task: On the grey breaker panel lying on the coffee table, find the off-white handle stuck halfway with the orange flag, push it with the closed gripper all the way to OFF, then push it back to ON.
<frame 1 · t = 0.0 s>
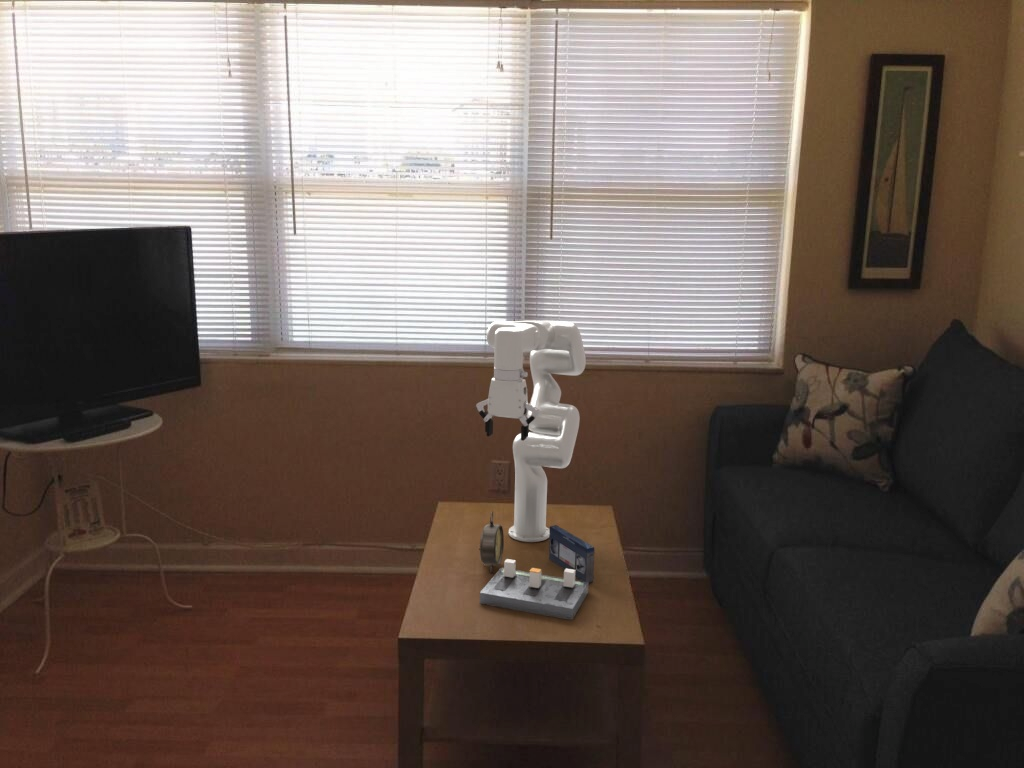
hand: (506, 437, 243), 37 cm above the table, tool pointing down, fingers open, 9 cm apart
tripped breaker: (535, 577, 231), point 6 cm above the table, slide at 3.5 cm
dial indicator gauge: (490, 567, 250), on the table
breaker 1: (509, 568, 237), point 5 cm above the table, slide at 0.0 cm
vhs cassette tape: (570, 571, 249), on the table
breaker panel: (534, 598, 232), on the table
breaker 2: (569, 577, 232), point 5 cm above the table, slide at 0.0 cm
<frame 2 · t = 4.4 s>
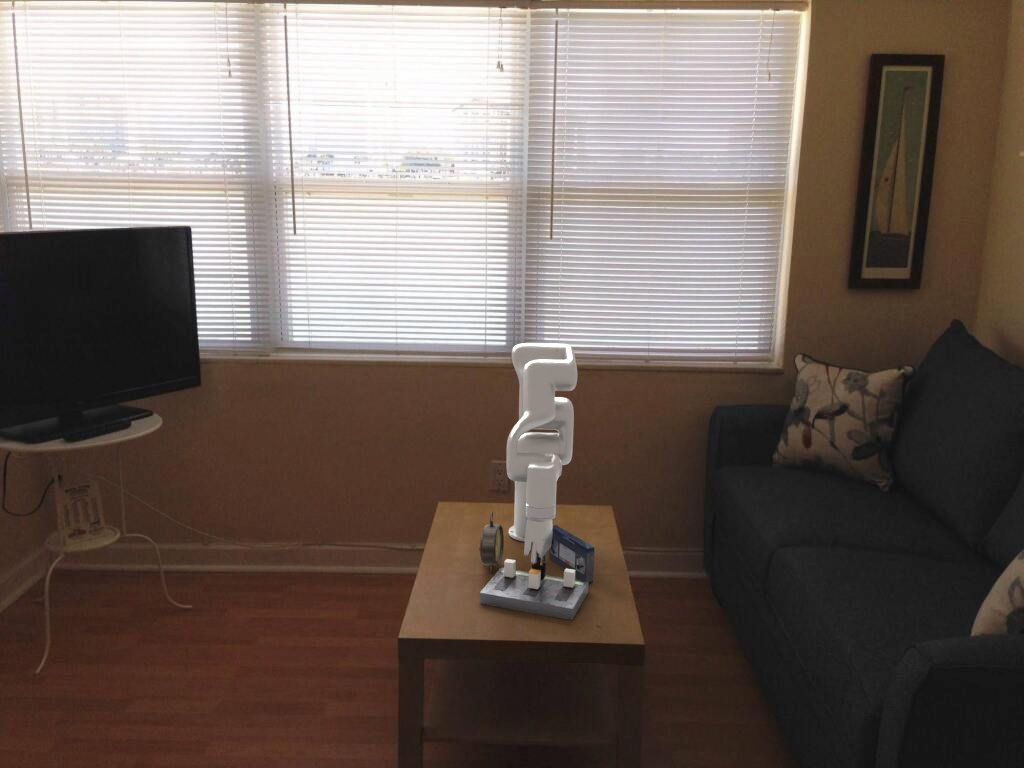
hand: (538, 577, 234), 4 cm above the table, tool pointing down, fingers closed
tripped breaker: (534, 578, 230), point 6 cm above the table, slide at 4.2 cm, touching gripper
everything else where it was.
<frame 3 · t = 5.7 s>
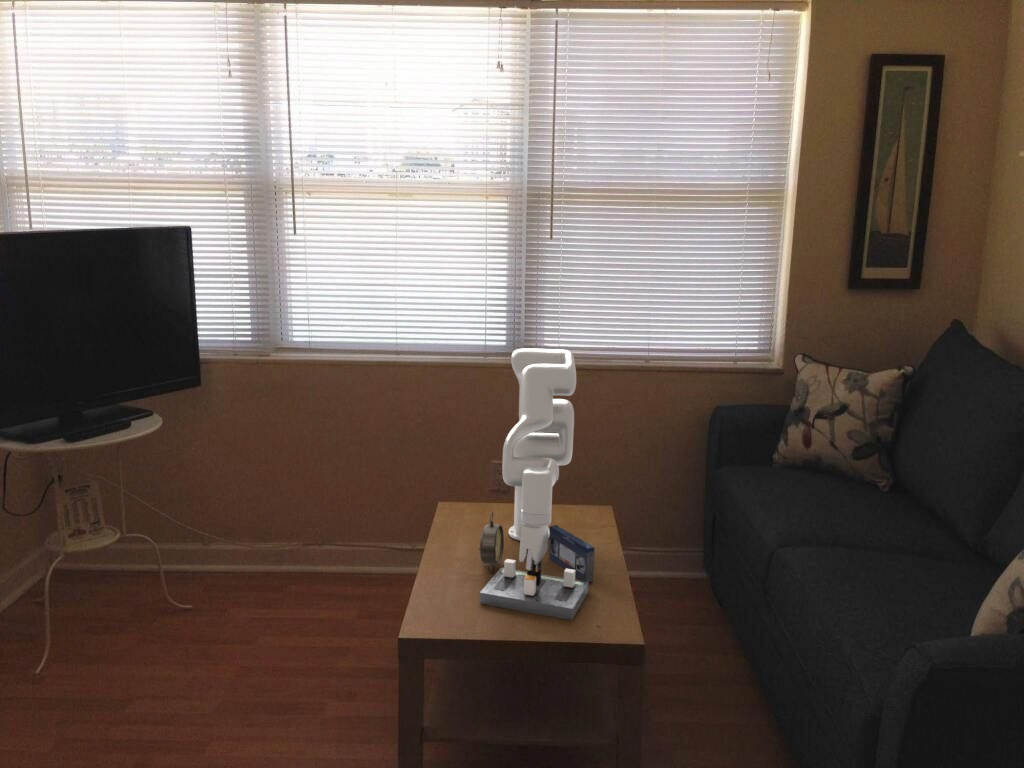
hand: (533, 583, 230), 4 cm above the table, tool pointing down, fingers closed
tripped breaker: (529, 585, 227), point 6 cm above the table, slide at 8.1 cm, touching gripper
everything else where it was.
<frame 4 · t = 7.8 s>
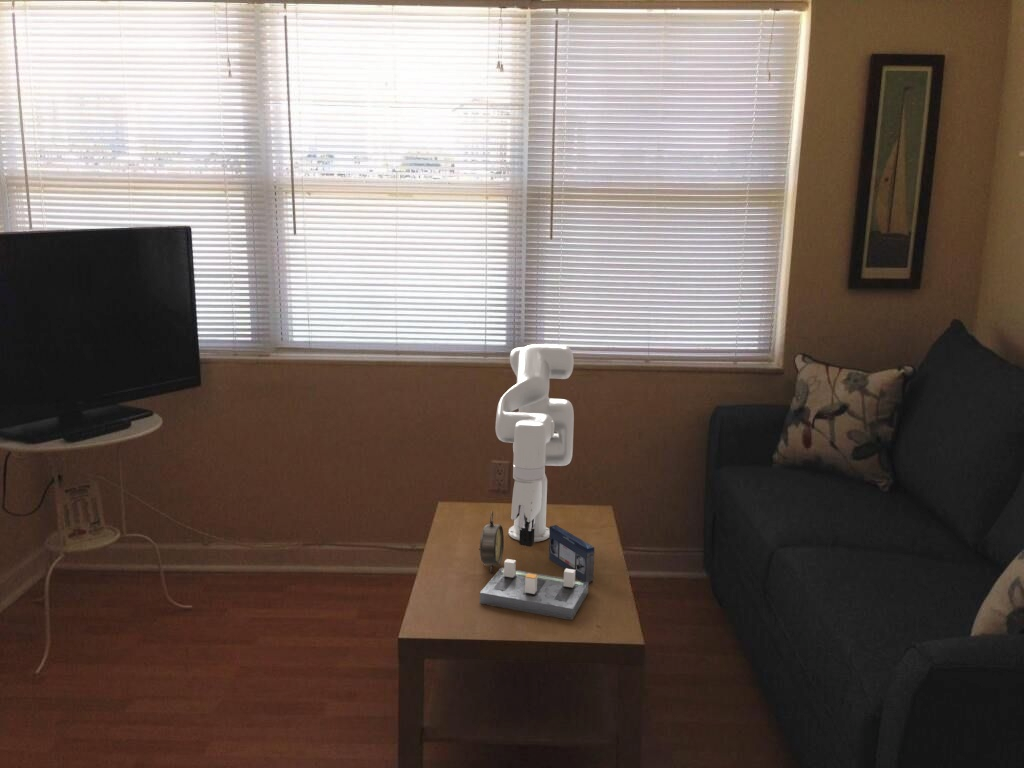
hand: (526, 544, 220), 18 cm above the table, tool pointing down, fingers closed
tripped breaker: (531, 583, 228), point 6 cm above the table, slide at 7.1 cm
everything else where it was.
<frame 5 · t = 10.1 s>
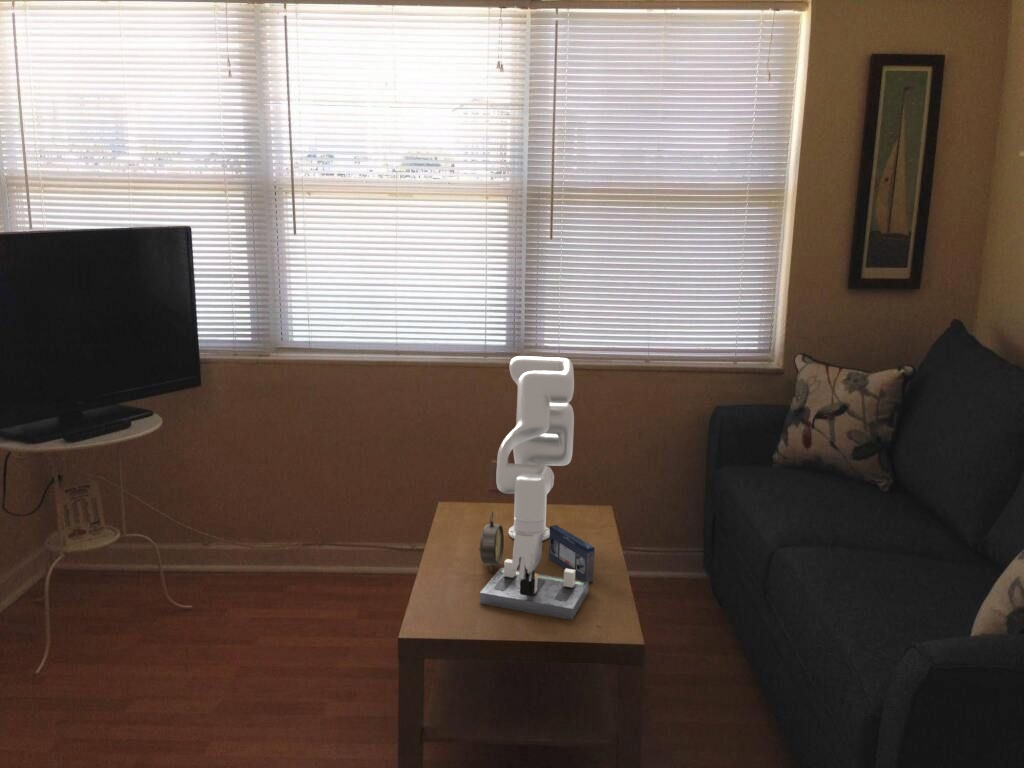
hand: (527, 593, 225), 4 cm above the table, tool pointing down, fingers closed
tripped breaker: (531, 583, 228), point 6 cm above the table, slide at 6.7 cm, touching gripper
everything else where it was.
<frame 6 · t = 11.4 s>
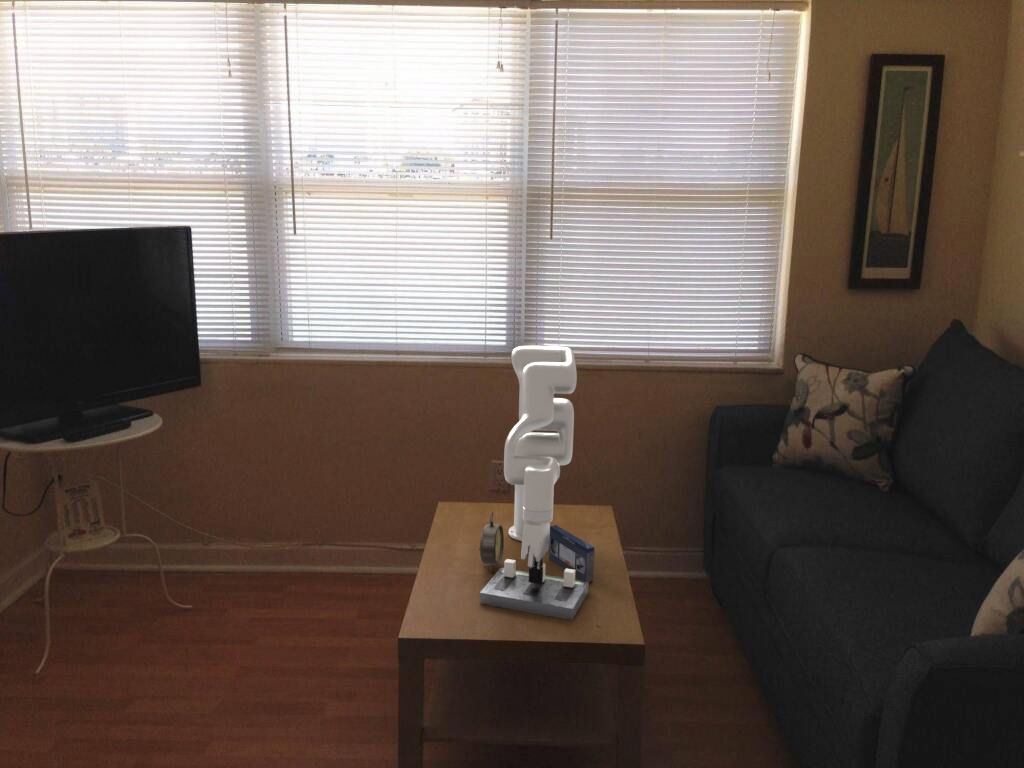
hand: (535, 581, 231), 4 cm above the table, tool pointing down, fingers closed
tripped breaker: (539, 572, 234), point 6 cm above the table, slide at -0.2 cm, touching gripper
everything else where it was.
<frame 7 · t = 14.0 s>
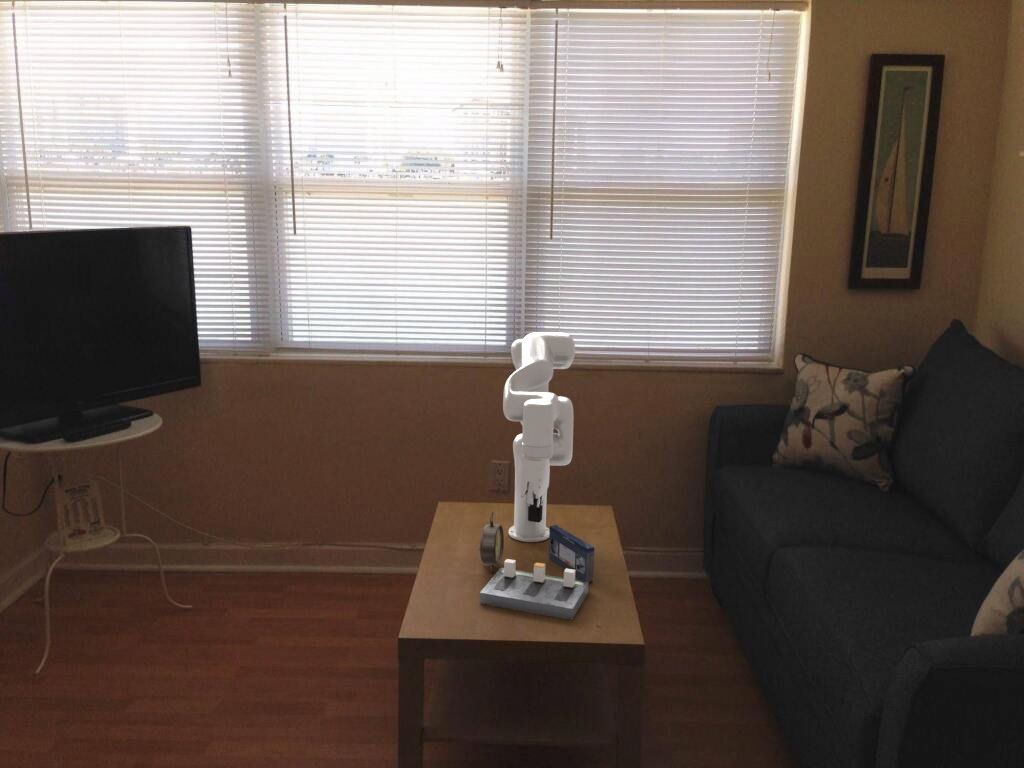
hand: (534, 520, 226), 22 cm above the table, tool pointing down, fingers closed
tripped breaker: (539, 572, 234), point 6 cm above the table, slide at -0.1 cm
everything else where it was.
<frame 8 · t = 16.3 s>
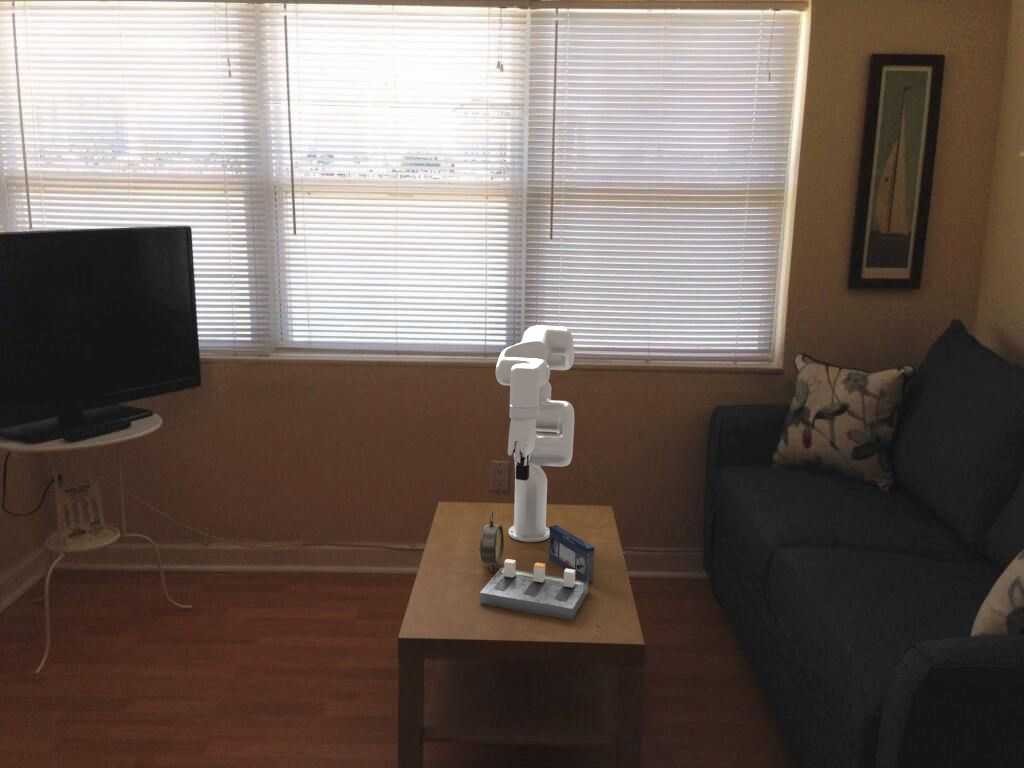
hand: (522, 478, 240), 27 cm above the table, tool pointing down, fingers closed
nothing on the table moved.
at the end: tripped breaker slide at -0.1 cm; breaker 2 slide at 0.0 cm; breaker 1 slide at 0.0 cm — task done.
